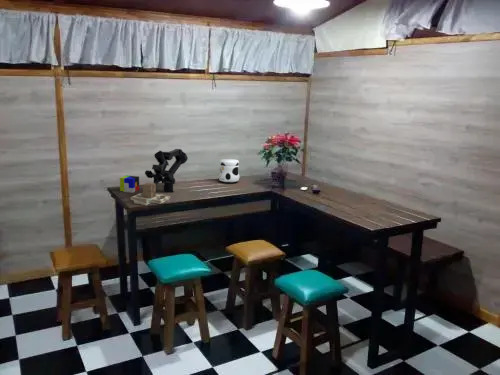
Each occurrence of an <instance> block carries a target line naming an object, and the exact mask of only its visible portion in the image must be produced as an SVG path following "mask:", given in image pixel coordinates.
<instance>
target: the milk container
mask: <svg viewBox="0 0 500 375" xmlns="http://www.w3.org/2000/svg"><path fill="white" fill-rule="evenodd" d="M239 165H240V161H239V160H238V159H235V158H224V159H223V158H221V159H220V160H219V172H218V181H219V182H221V183H226V184H227V183H228V184H234V183H237V182H239V181H240V177H241V176H240V172H239V169H240V166H239Z"/></svg>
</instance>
